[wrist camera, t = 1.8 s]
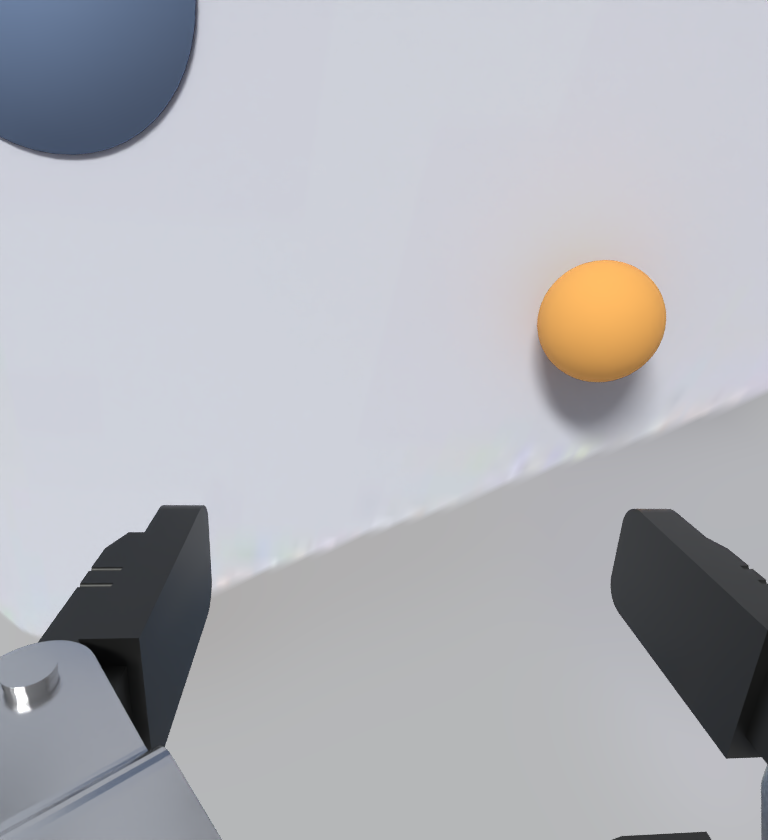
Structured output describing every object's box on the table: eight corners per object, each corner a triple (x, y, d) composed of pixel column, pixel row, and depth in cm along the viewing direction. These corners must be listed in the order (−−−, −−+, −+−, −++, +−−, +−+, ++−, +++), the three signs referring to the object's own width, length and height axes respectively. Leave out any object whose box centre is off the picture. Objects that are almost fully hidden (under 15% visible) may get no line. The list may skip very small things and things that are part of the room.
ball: (630, 237, 29) (686, 255, 24) (640, 344, 32) (693, 382, 26) (516, 269, 30) (546, 293, 25) (535, 371, 33) (565, 413, 27)
